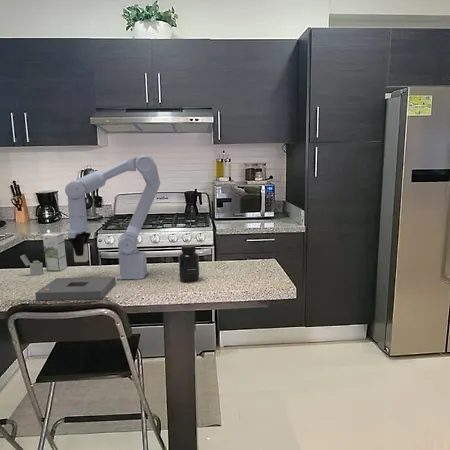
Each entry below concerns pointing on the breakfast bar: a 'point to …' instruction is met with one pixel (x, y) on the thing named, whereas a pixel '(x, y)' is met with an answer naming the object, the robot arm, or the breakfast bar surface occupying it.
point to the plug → (82, 258)
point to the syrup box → (54, 251)
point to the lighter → (33, 266)
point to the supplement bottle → (189, 264)
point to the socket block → (76, 288)
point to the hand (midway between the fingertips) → (81, 254)
